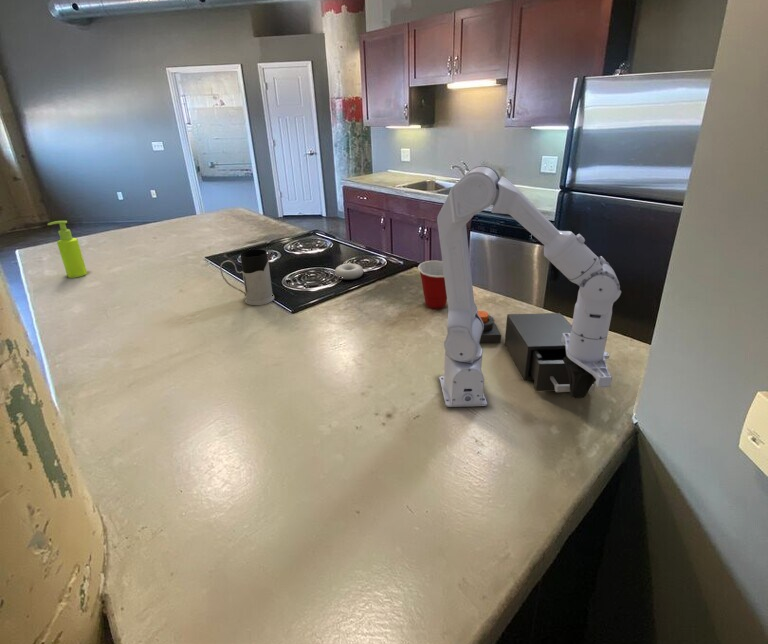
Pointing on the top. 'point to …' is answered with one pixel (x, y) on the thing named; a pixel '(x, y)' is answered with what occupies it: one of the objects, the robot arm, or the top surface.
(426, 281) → the plastic cup
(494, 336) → the control block
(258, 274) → the silver mug
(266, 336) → the top surface
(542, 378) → the drawer
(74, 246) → the soap dispenser
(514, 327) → the grey drawer box
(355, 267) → the donut
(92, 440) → the top surface
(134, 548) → the top surface
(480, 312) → the button
